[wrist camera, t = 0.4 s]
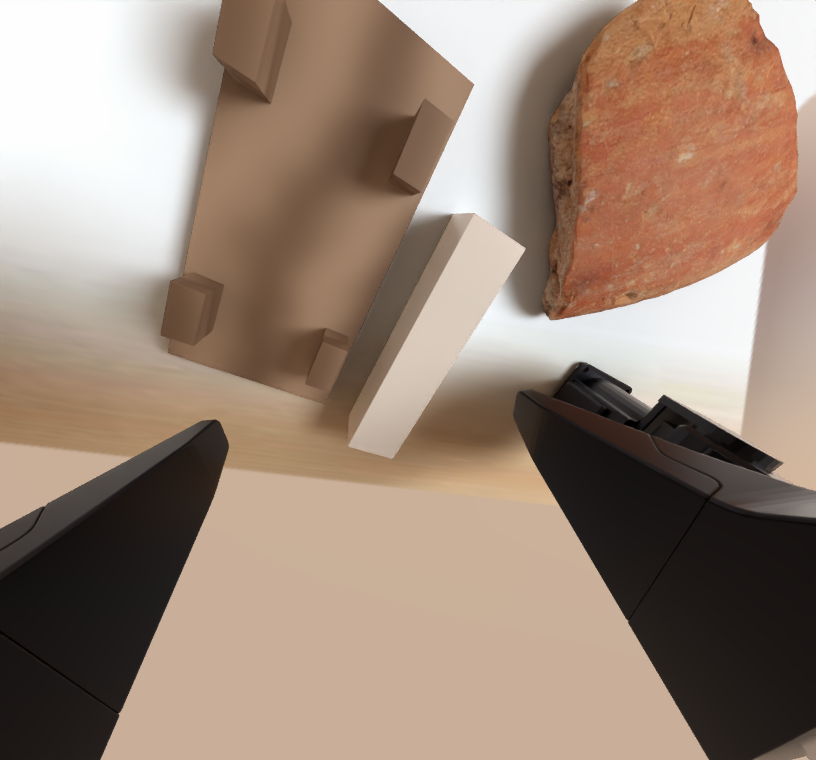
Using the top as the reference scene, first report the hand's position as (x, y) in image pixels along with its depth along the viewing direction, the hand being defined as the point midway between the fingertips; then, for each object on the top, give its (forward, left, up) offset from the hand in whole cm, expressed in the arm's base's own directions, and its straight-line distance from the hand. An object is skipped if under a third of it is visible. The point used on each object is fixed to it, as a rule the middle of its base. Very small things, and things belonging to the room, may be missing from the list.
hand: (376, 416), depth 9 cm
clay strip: (-4, 0, -13) cm, 13 cm away
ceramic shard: (-12, -15, -13) cm, 24 cm away
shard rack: (+5, -3, -12) cm, 14 cm away
